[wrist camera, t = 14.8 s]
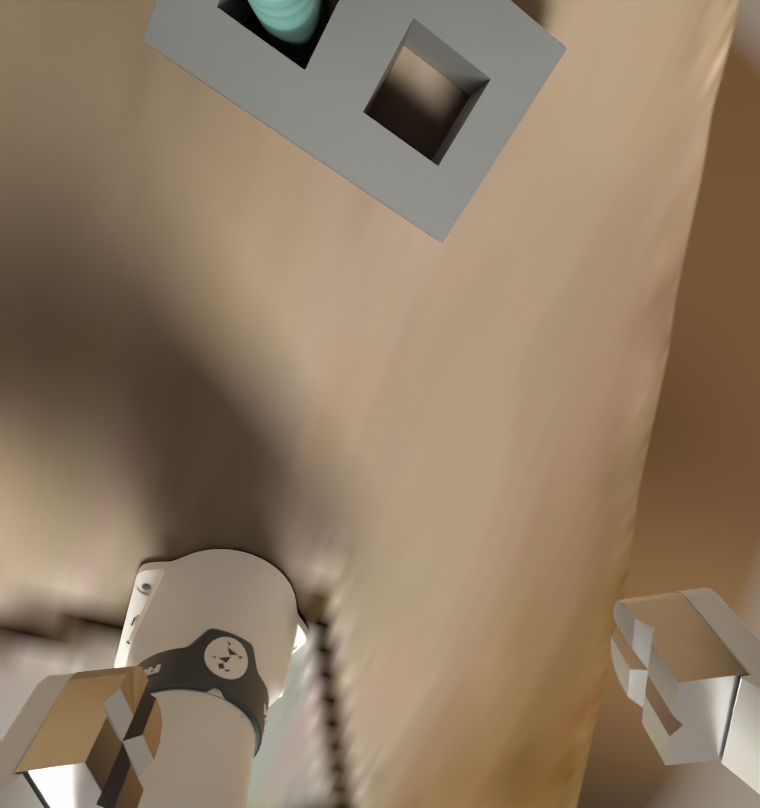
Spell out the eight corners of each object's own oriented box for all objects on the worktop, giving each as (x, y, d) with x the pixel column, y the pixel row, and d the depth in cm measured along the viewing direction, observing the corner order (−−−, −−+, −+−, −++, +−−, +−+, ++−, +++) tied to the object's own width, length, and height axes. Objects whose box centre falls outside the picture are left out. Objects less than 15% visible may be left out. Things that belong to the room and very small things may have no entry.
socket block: (430, 235, 39) (442, 243, 34) (175, 64, 34) (141, 40, 29) (533, 70, 35) (567, 48, 30) (263, -152, 30) (243, -229, 25)
